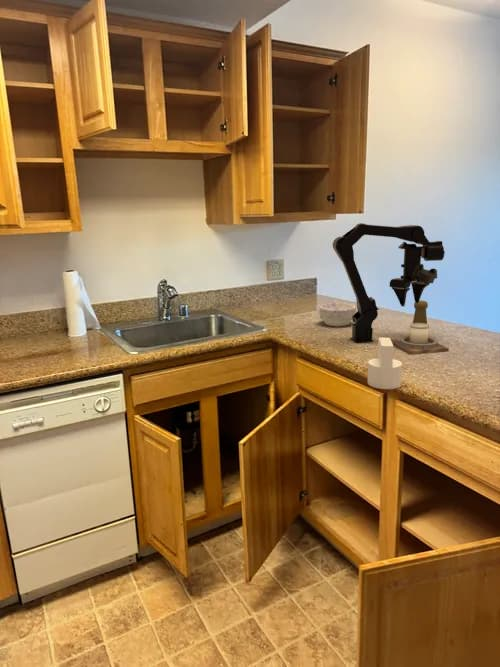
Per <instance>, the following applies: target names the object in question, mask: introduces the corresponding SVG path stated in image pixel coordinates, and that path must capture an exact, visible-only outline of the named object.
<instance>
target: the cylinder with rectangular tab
mask: <svg viewBox="0 0 500 667" xmlns="http://www.w3.org/2000/svg"><path fill="white" fill-rule="evenodd" d="M391 341H392V340H391V338H390V337H378V348H377V349H378V350H377V351H378V352H377V354H378V355H377V357H376V358H372V359H370V360H368V362H367V384H368V385H369V386H370V387H372V388H376V389H380V390H381V389H382V390H395V389H398V388H400V387H401V386H402V374H403V372H402V371H403V362H401V361H400V360H398V359H394V345H393V344H392V342H391Z"/></svg>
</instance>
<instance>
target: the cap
mask: <svg viewBox="0 0 500 667" xmlns="http://www.w3.org/2000/svg"><path fill="white" fill-rule="evenodd" d="M409 326H410V327H409V336H410V341H409V343H413V344H428V337H429V329H430V328H429V327H430V325H429V324H428V323H427V324H425V323H413V322H412V323H410V324H409Z"/></svg>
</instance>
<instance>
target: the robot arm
mask: <svg viewBox="0 0 500 667" xmlns="http://www.w3.org/2000/svg"><path fill="white" fill-rule="evenodd" d="M363 236H374V237H375V236H376V237H386V238H395V239H398V240H399V239H400V240H403V242H402V243H401V244H400V245H399V246H398V249H400V250H403V251H404V252H403V263H401V265H400V267H401V268H402V269H403V271H402V272H403V273H402V274H403V275H400V278H399V277H397V278H396V277H395V278H392V279H391V280H390V281H389V285H388V286H389V287H390V288H391V289H392V290H393V292H394V294H395V296H396V297H397V299H398V301H399V304H400V307H405V305H406V301H407V293H408V292H409V291H410V290H411V288H412V293H413V294H412V295H413V298H414V303H419V301H421V298H422V297H421V296H422V295H423V291H424V290H425V288H426V287H428V286H430V284H433V283H434V282H435V280H436V279H438V269H435V268H434V267H433V268H430V269H425V268H424V266H425V265H424V264H423V263H421V262H422V259H423V261H425V262H435V261H437V262H438V261H443V259H444V257H445V254H446V253H445V247H444V245H443V240H442V241H441V240H436V241H429V240H428V238H427V236H426V235H425V230H424V228H423V227H422V226H421V225H413V224H409V225H399V226H387V225H376V224H366V223H362V222H361V223H357V224H356V225H355V226H354V227H352V229H350V230H348V231H347V232H346V233H345V234H343V235H342V236H338V237H336V238H335V239H334V240H333V242H332V249H333V250H334V252H335V254H336V256H337V258H339V260H340V262H342V265H343V267H344V269H345V273H346V275H347V278H348V280H349V282H350V285H351V288H352V290H353V293H354V295H355V296H354V297H355V299H356V310H357V311H356V313H355V314H354V315H353V316H352V322H353V323H352V324H351V325H352V326H351V336H350V337H349V340H352V341H353V342H355V343H357V344H359V343H372V342H374V340H373V330H374V328H373V327H372V326H373V323H374V321H375V320H376V319H377V317H378V316H379V312H378V311H379V308H378V306H377V303H376V299H374V298H373V297H372V296H369V295H368V294H367V293H368V292H367V291H366V288H365V285H364V282H363V280H362V278H361V275H360V272H359V270H358V267H357V265H356V262H355V254H354V248H353V246H354V245H356V243H358V242H359V241H360V239H362V238H363ZM407 242H411V243H407ZM418 245H419V246H418ZM410 287H411V288H410Z"/></svg>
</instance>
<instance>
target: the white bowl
mask: <svg viewBox="0 0 500 667" xmlns="http://www.w3.org/2000/svg"><path fill="white" fill-rule="evenodd" d="M318 309H319V318H320V319H321V320H323V321H324V324H325V325H327V326H330V327H345V326H348V325H350V323H351V322H352V321H353V319H352V316H353V315H354V314H355V313H356V312H357V311H356V310H357V305H356V306H355V305H354V304H351V303H345V302H331V303H323V304H320V306H319V308H318Z"/></svg>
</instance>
